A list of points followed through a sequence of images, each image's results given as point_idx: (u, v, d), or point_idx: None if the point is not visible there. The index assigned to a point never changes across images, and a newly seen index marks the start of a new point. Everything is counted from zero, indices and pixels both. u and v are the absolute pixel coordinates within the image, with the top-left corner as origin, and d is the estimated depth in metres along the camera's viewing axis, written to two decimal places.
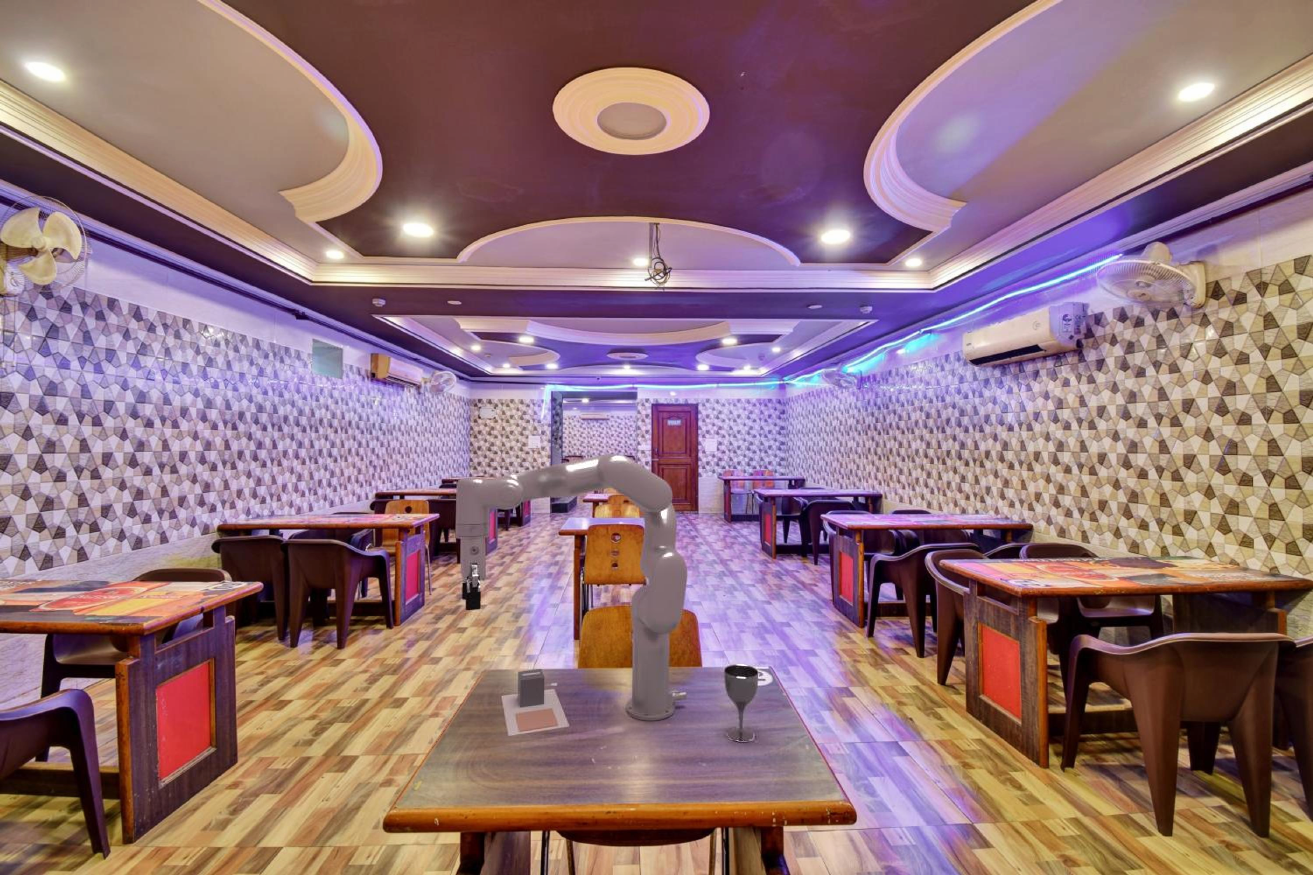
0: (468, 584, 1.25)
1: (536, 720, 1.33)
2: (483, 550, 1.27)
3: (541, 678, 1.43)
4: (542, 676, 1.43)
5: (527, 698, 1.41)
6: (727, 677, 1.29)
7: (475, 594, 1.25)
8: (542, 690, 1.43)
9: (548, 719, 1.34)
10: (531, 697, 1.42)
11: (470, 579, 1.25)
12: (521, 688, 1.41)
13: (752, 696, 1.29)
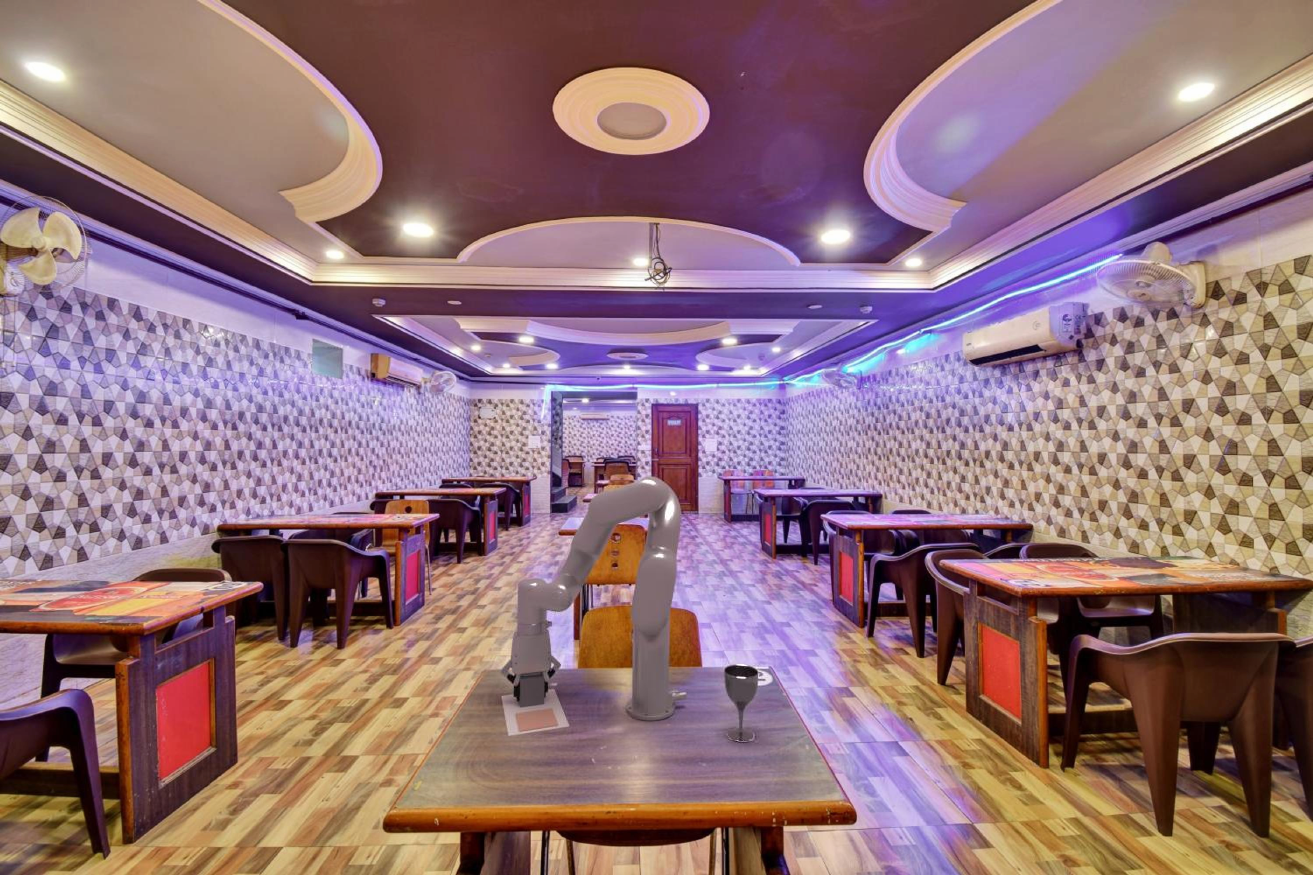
0: (547, 674, 1.45)
1: (536, 720, 1.33)
2: None
3: (541, 678, 1.43)
4: (542, 676, 1.43)
5: (527, 698, 1.41)
6: (727, 677, 1.29)
7: None
8: (542, 690, 1.43)
9: (548, 719, 1.34)
10: (531, 697, 1.42)
11: None
12: (521, 688, 1.41)
13: (752, 696, 1.29)
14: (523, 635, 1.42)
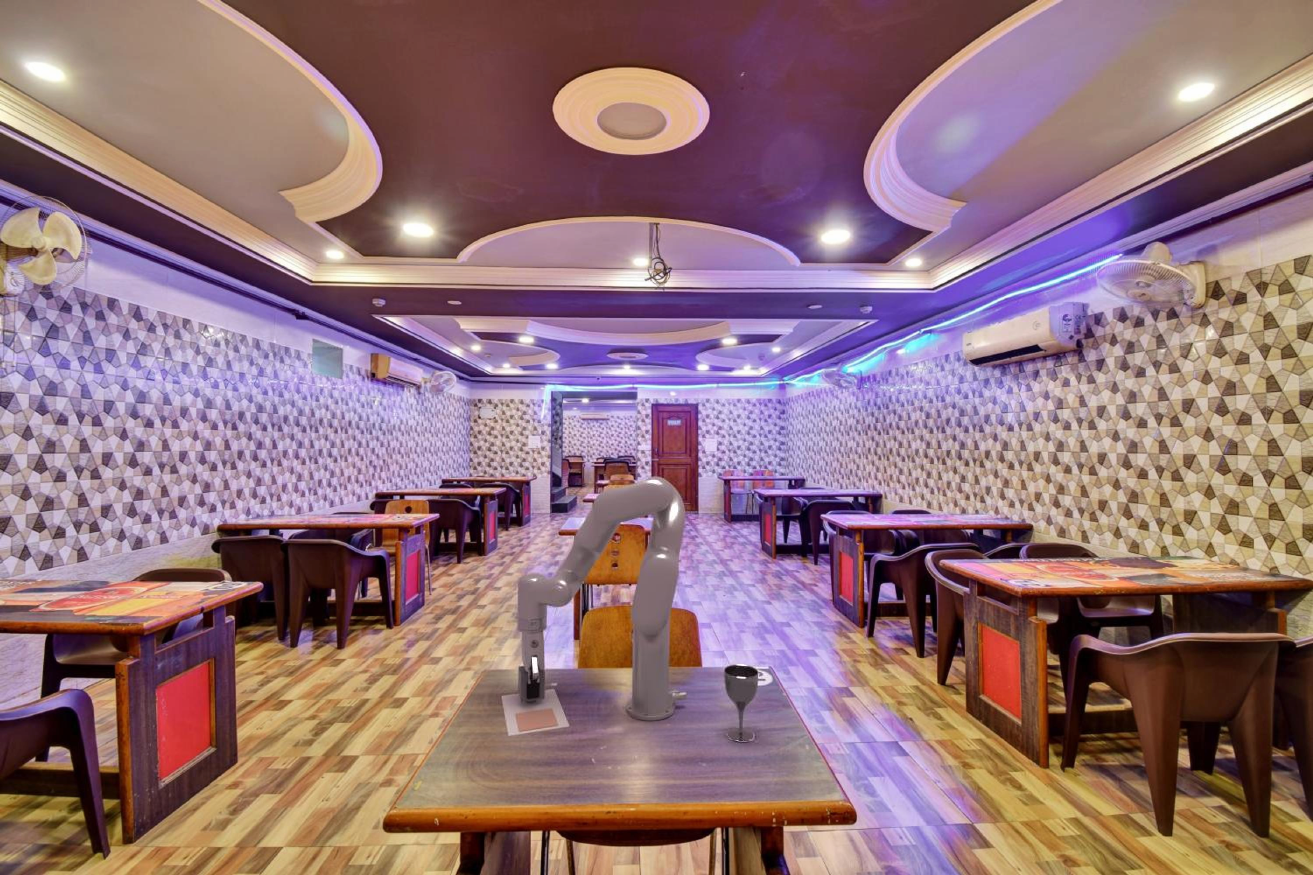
0: (529, 676, 1.40)
1: (536, 720, 1.33)
2: (542, 643, 1.41)
3: (521, 674, 1.42)
4: (524, 673, 1.41)
5: (519, 687, 1.45)
6: (727, 677, 1.29)
7: (535, 685, 1.41)
8: (520, 687, 1.41)
9: (548, 719, 1.34)
10: (519, 688, 1.44)
11: (530, 671, 1.41)
12: (518, 674, 1.46)
13: (752, 696, 1.29)
14: None
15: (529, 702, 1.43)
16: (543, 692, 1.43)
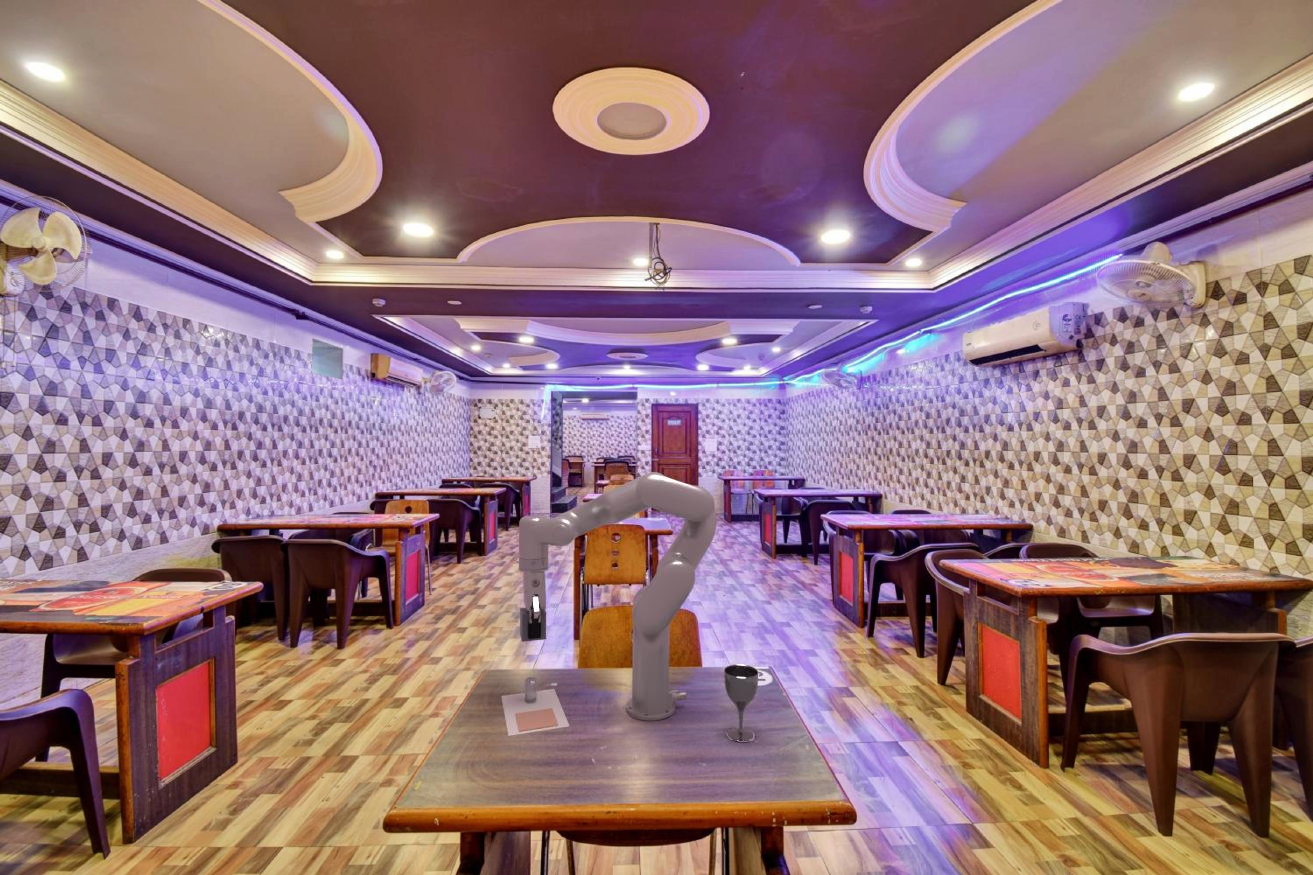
0: (530, 616, 1.39)
1: (536, 720, 1.33)
2: (543, 582, 1.40)
3: (522, 614, 1.41)
4: (525, 613, 1.41)
5: (520, 628, 1.44)
6: (727, 677, 1.29)
7: (536, 624, 1.40)
8: (521, 627, 1.40)
9: (548, 719, 1.34)
10: None
11: (532, 611, 1.40)
12: (520, 616, 1.45)
13: (752, 696, 1.29)
14: None
15: (529, 702, 1.43)
16: (544, 633, 1.42)
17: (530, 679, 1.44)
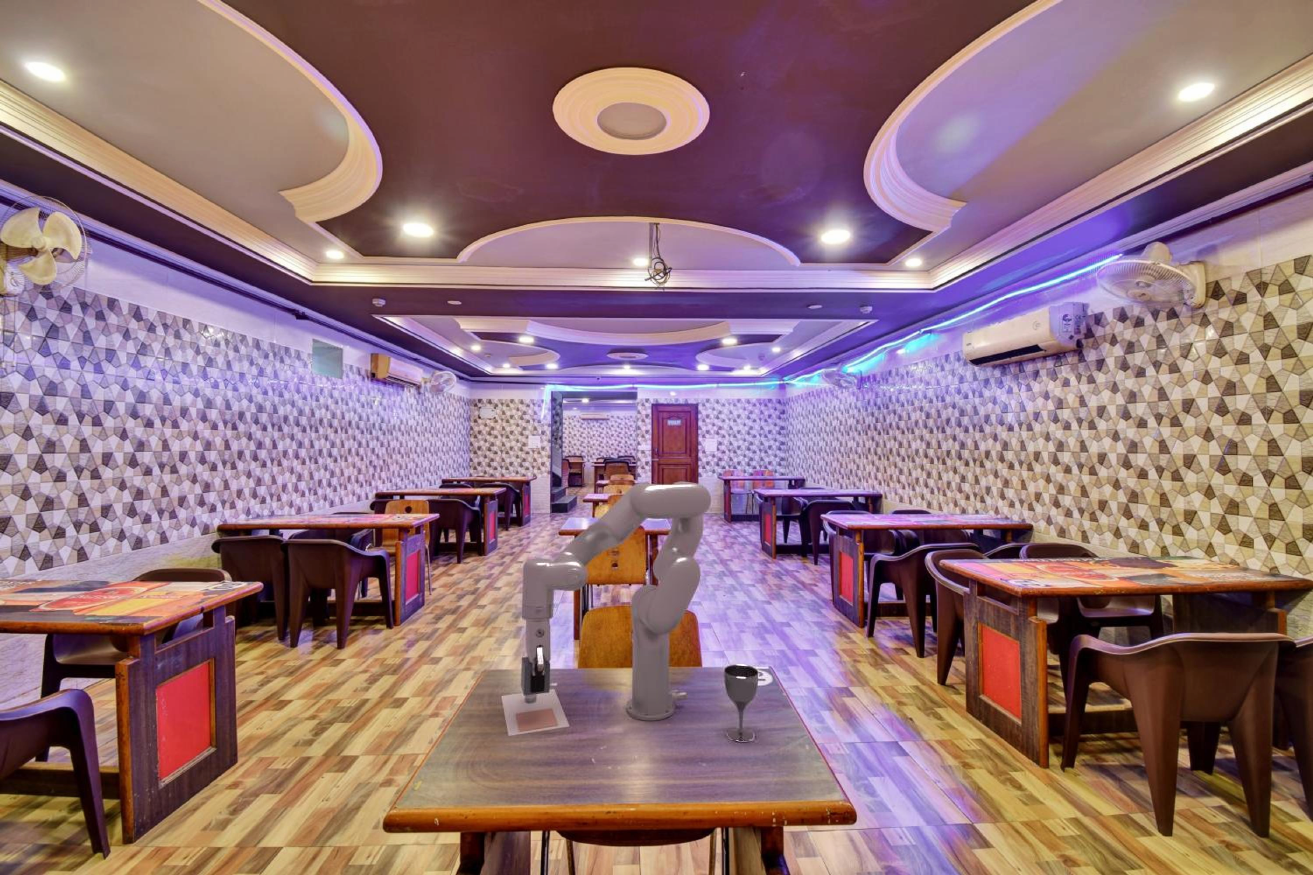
0: (533, 668, 1.30)
1: (536, 720, 1.33)
2: (548, 632, 1.31)
3: (524, 665, 1.31)
4: (527, 665, 1.31)
5: (521, 679, 1.34)
6: (727, 677, 1.29)
7: (539, 677, 1.30)
8: (523, 679, 1.31)
9: (548, 719, 1.34)
10: (522, 681, 1.33)
11: (535, 662, 1.31)
12: (521, 666, 1.36)
13: (752, 696, 1.29)
14: None
15: (529, 702, 1.43)
16: (548, 685, 1.32)
17: None
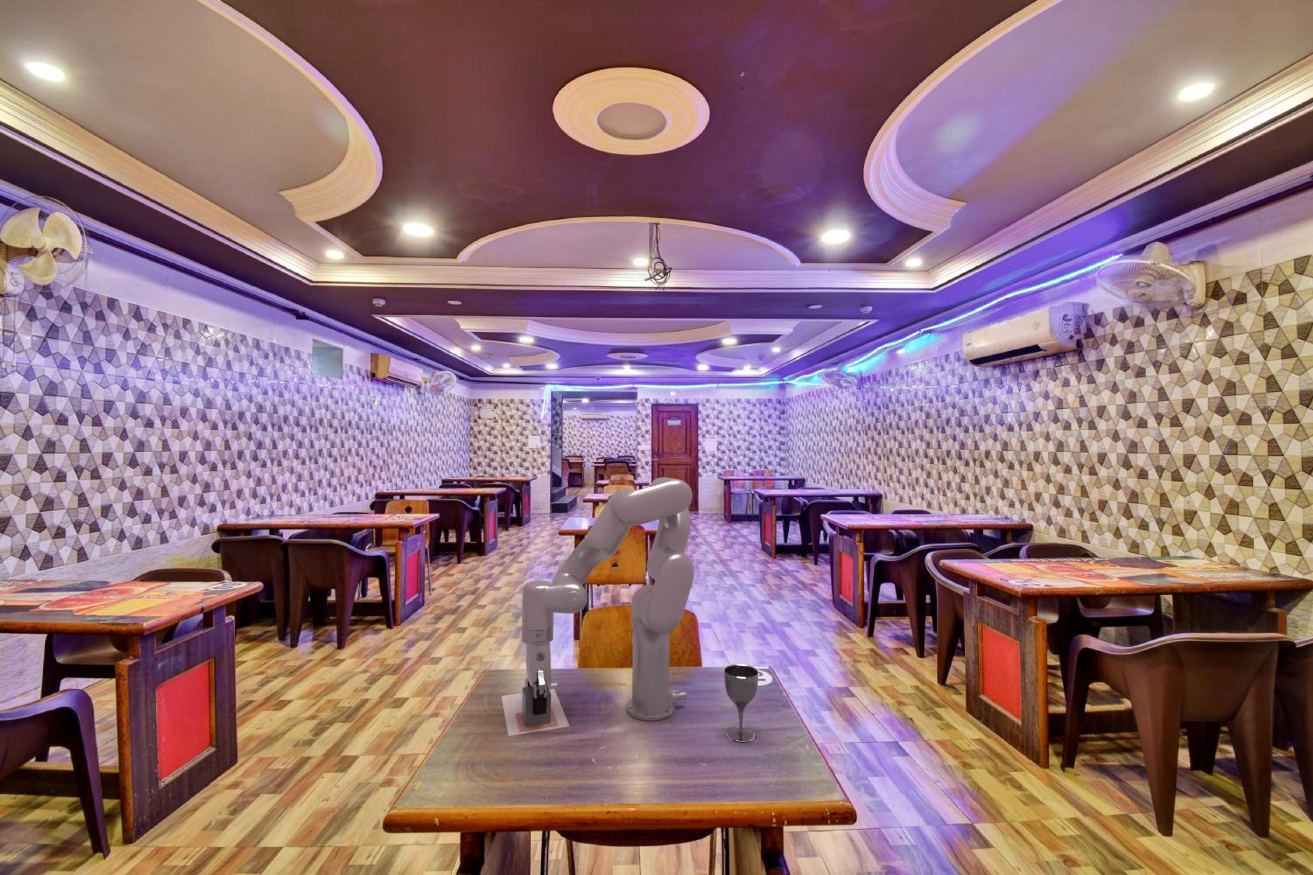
0: (535, 690, 1.29)
1: None
2: (548, 655, 1.31)
3: (525, 697, 1.31)
4: (528, 696, 1.31)
5: (523, 710, 1.34)
6: (727, 677, 1.29)
7: (541, 700, 1.29)
8: (525, 710, 1.31)
9: None
10: (523, 711, 1.33)
11: (536, 684, 1.30)
12: (522, 696, 1.36)
13: (752, 696, 1.29)
14: None
15: None
16: (549, 716, 1.32)
17: None
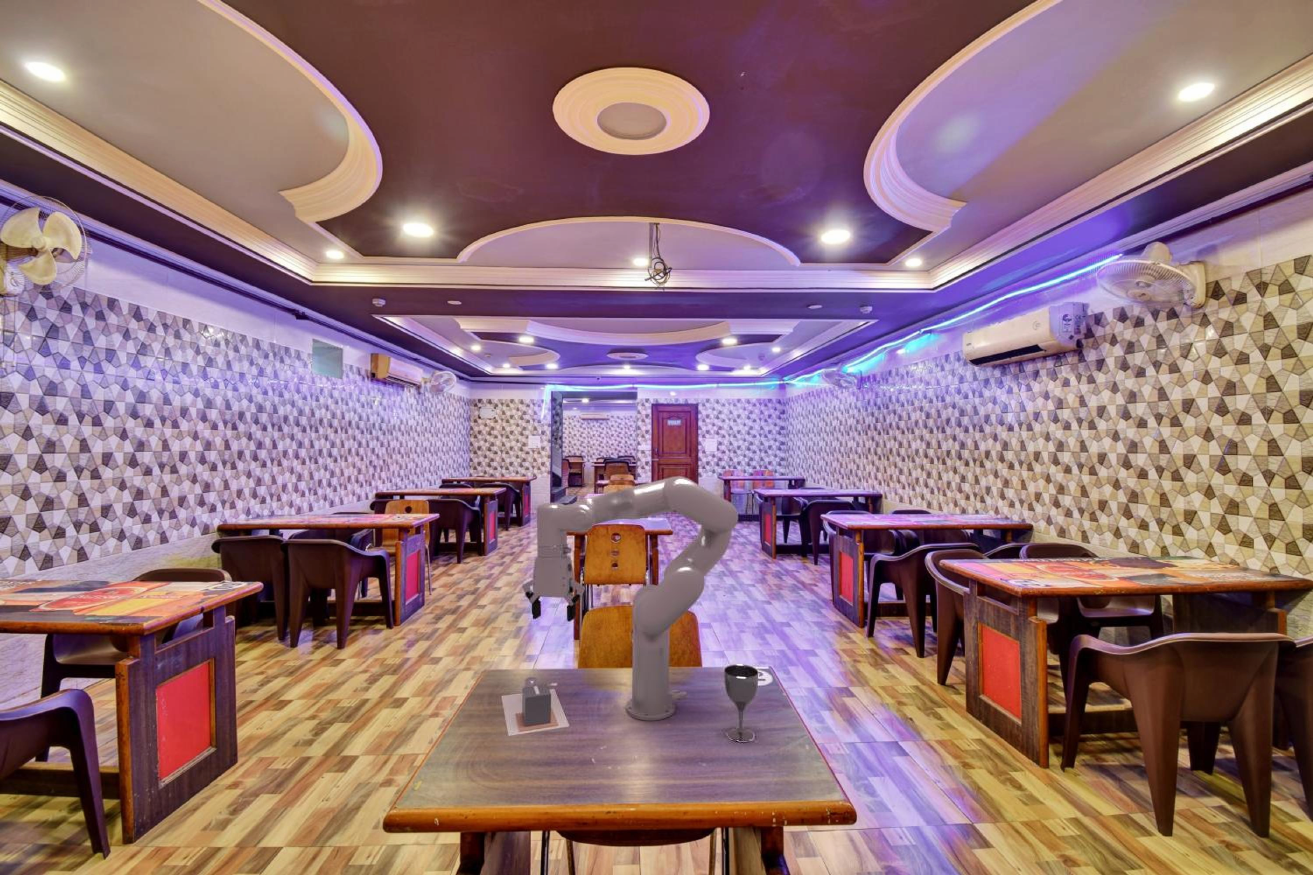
0: (570, 598, 1.40)
1: None
2: (572, 566, 1.43)
3: (525, 697, 1.31)
4: (528, 696, 1.31)
5: (523, 710, 1.34)
6: (727, 677, 1.29)
7: (574, 605, 1.41)
8: (525, 710, 1.31)
9: None
10: (523, 711, 1.33)
11: (568, 593, 1.40)
12: (522, 696, 1.36)
13: (752, 696, 1.29)
14: (538, 557, 1.41)
15: None
16: (549, 716, 1.32)
17: (530, 679, 1.44)
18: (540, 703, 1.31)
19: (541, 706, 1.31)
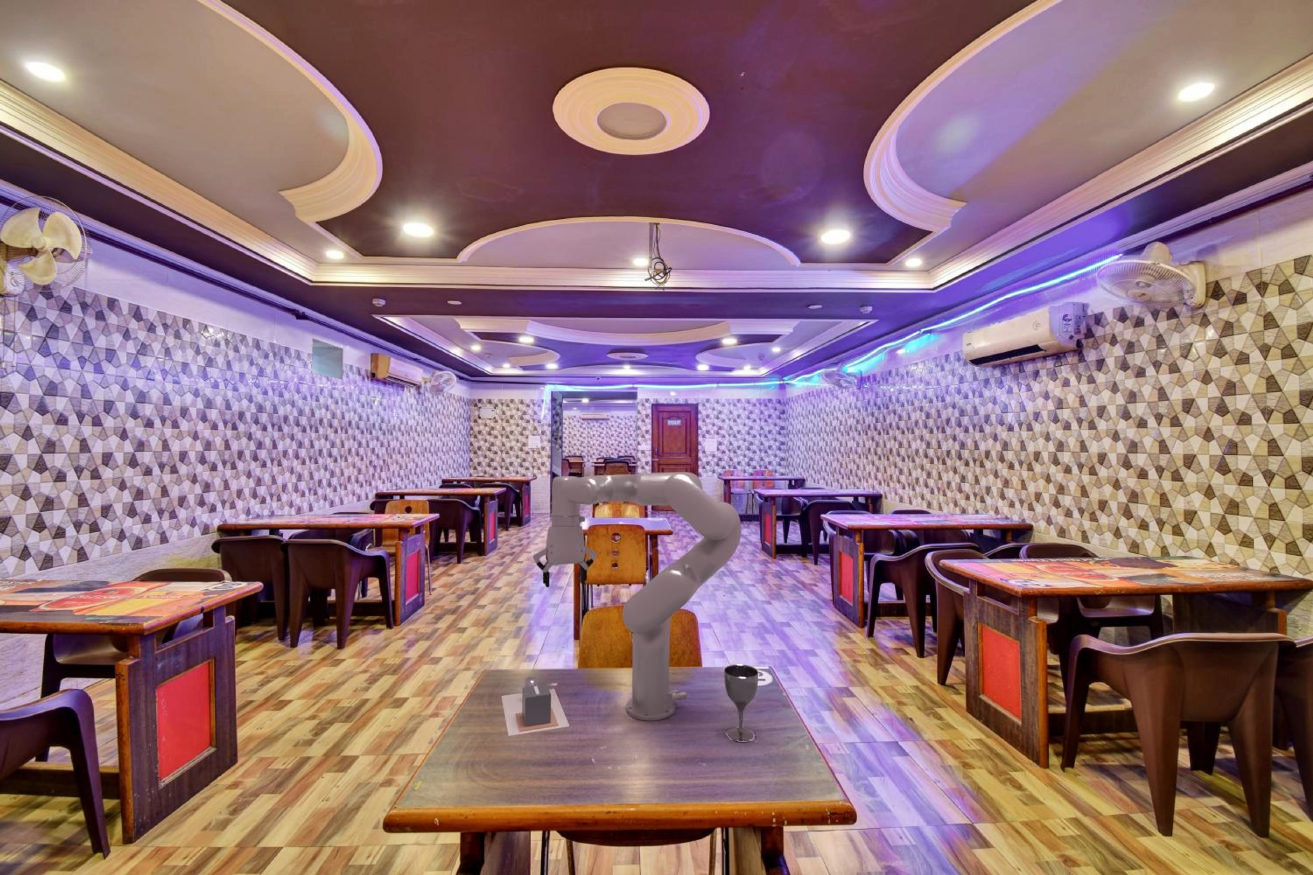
0: (585, 563, 1.52)
1: None
2: None
3: (525, 697, 1.31)
4: (528, 696, 1.31)
5: (523, 710, 1.34)
6: (727, 677, 1.29)
7: None
8: (525, 710, 1.31)
9: None
10: (523, 711, 1.33)
11: None
12: (522, 696, 1.36)
13: (752, 696, 1.29)
14: (558, 526, 1.48)
15: None
16: (549, 716, 1.32)
17: (530, 679, 1.44)
18: (540, 703, 1.31)
19: (541, 706, 1.31)
